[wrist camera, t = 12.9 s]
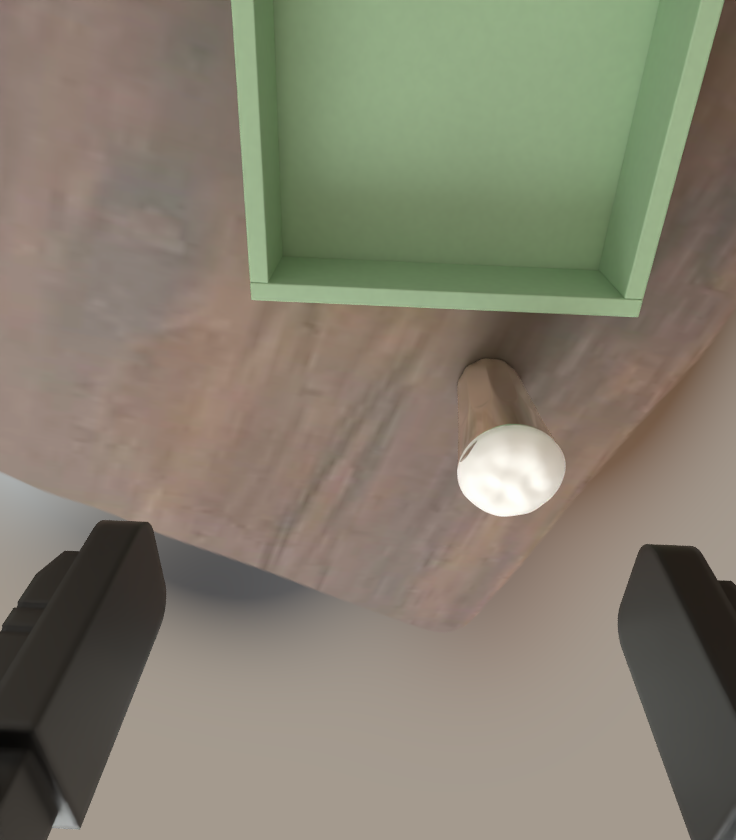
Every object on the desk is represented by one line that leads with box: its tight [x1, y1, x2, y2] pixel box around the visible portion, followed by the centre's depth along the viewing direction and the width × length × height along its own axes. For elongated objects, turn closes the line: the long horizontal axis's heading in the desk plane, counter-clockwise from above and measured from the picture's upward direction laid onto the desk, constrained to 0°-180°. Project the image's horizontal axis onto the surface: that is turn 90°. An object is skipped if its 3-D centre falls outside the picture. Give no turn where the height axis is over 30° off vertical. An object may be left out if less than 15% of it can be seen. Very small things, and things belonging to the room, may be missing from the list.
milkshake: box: [457, 358, 566, 516], centre depth 29 cm, size 4×5×10 cm
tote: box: [231, 0, 724, 317], centre depth 24 cm, size 17×17×5 cm
